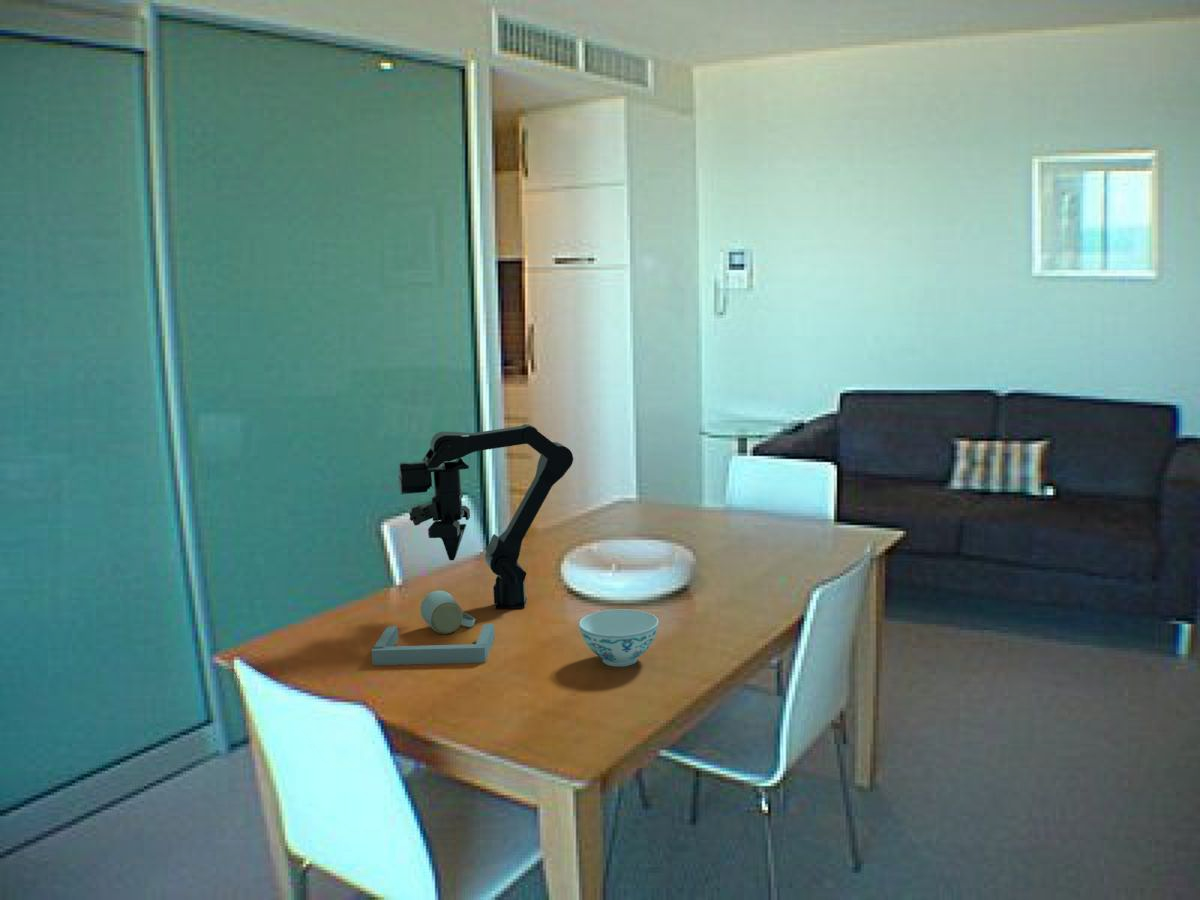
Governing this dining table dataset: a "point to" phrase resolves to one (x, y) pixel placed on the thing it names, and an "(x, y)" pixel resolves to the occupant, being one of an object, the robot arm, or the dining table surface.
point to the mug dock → (431, 650)
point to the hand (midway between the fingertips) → (452, 559)
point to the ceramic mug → (444, 613)
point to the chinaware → (619, 634)
